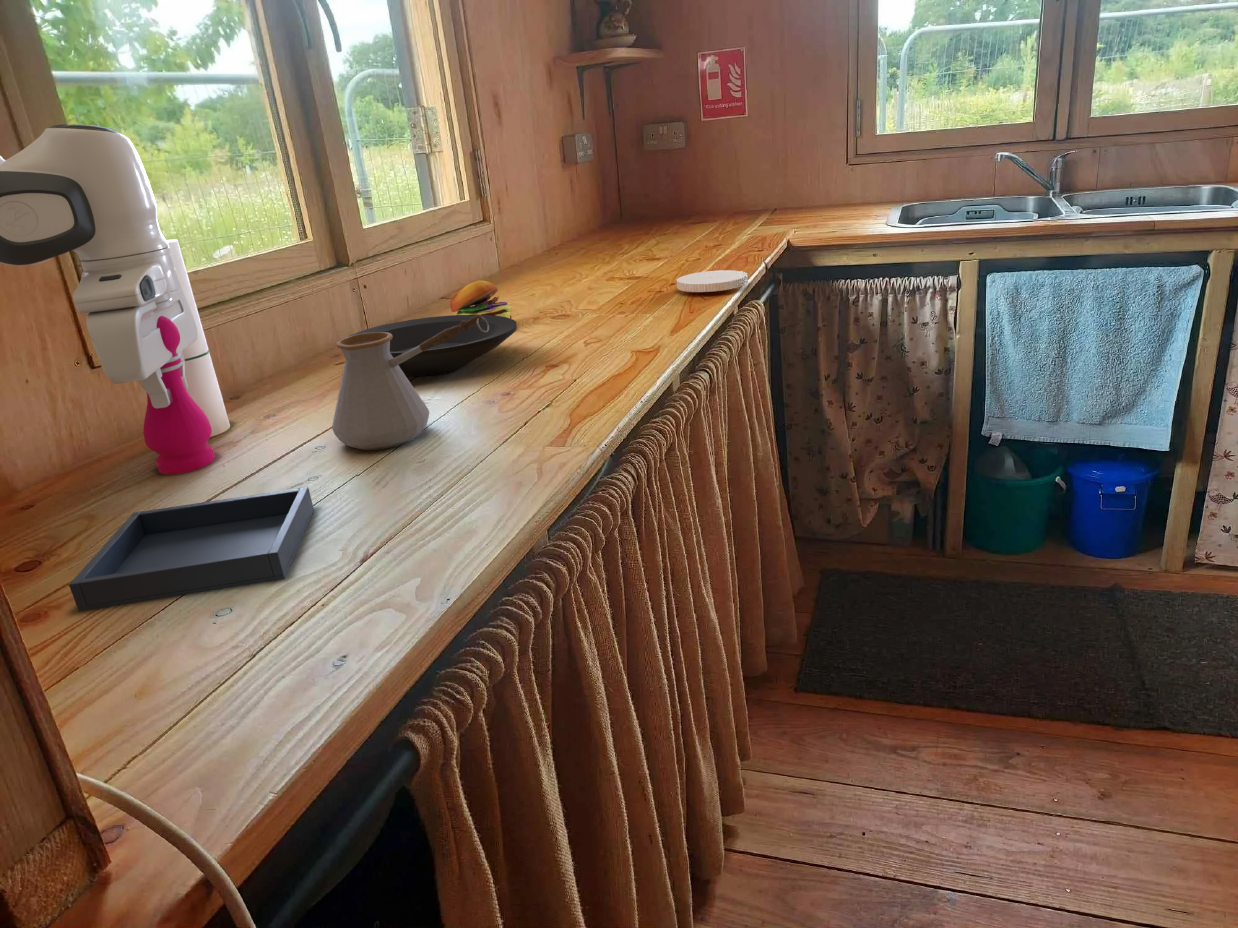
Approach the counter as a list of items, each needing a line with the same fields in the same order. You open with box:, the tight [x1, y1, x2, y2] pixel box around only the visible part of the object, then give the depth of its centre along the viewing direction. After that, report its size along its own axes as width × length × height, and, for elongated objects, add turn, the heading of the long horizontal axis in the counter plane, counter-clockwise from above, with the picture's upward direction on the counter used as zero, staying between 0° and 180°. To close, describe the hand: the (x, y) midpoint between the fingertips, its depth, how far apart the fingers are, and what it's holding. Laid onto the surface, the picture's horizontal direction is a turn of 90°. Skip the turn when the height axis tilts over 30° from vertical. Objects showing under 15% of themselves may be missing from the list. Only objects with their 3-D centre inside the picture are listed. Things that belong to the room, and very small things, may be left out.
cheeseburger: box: [449, 279, 513, 319], centre depth 159 cm, size 10×11×10 cm
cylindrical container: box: [166, 239, 231, 438], centre depth 112 cm, size 7×7×25 cm
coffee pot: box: [331, 315, 489, 451], centre depth 102 cm, size 21×12×15 cm, turn 76°
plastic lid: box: [675, 269, 748, 293], centre depth 173 cm, size 14×14×2 cm
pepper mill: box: [142, 316, 216, 475], centre depth 101 cm, size 7×7×20 cm
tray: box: [68, 486, 315, 612], centre depth 79 cm, size 17×15×3 cm
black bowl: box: [345, 314, 518, 377], centre depth 137 cm, size 28×24×6 cm
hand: (171, 399), depth 101 cm, fingers closed on pepper mill, 4 cm apart
